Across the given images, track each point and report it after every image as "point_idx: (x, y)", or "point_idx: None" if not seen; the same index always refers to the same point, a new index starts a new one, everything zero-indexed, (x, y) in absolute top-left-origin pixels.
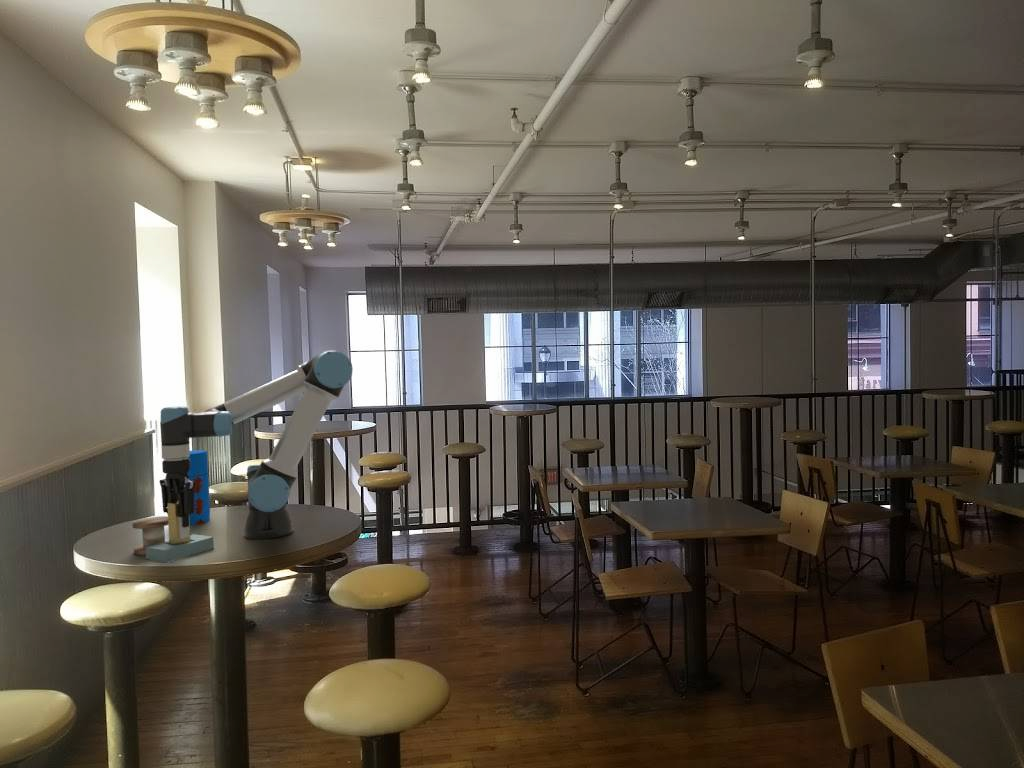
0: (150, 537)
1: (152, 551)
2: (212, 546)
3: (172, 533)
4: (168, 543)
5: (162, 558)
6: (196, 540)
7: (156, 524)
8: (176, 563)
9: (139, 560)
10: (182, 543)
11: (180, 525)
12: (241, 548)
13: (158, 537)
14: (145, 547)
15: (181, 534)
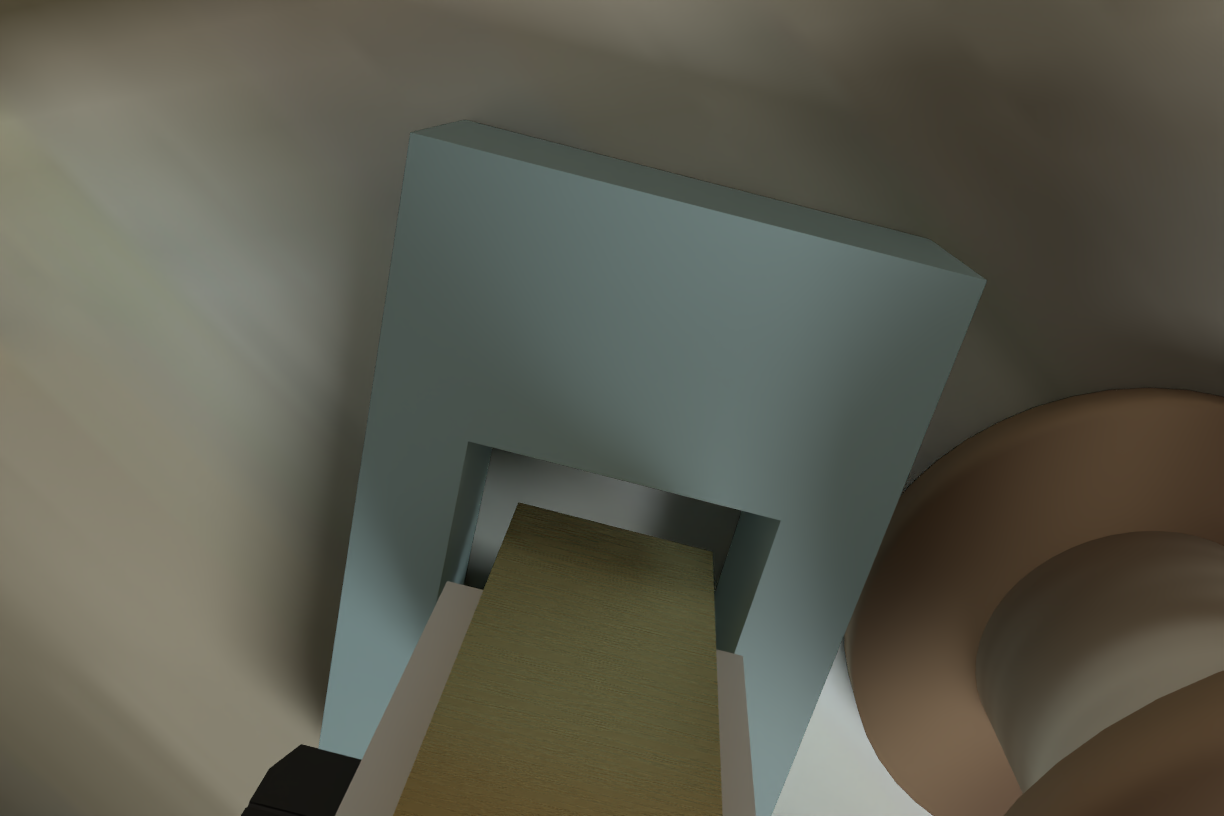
0: (1175, 651)
1: (781, 220)
2: None
3: (600, 633)
4: (758, 579)
5: (530, 143)
6: None
7: (1098, 812)
8: (274, 113)
9: (992, 157)
10: None
11: (361, 761)
12: (41, 789)
13: (1057, 714)
14: (1194, 545)
15: (423, 641)
